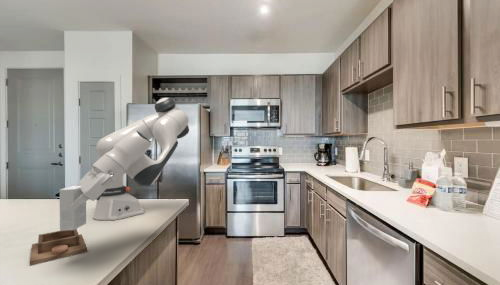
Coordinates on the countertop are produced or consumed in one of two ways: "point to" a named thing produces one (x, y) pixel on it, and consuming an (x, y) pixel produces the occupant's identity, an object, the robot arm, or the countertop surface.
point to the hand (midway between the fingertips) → (70, 205)
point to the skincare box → (69, 216)
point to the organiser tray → (57, 246)
